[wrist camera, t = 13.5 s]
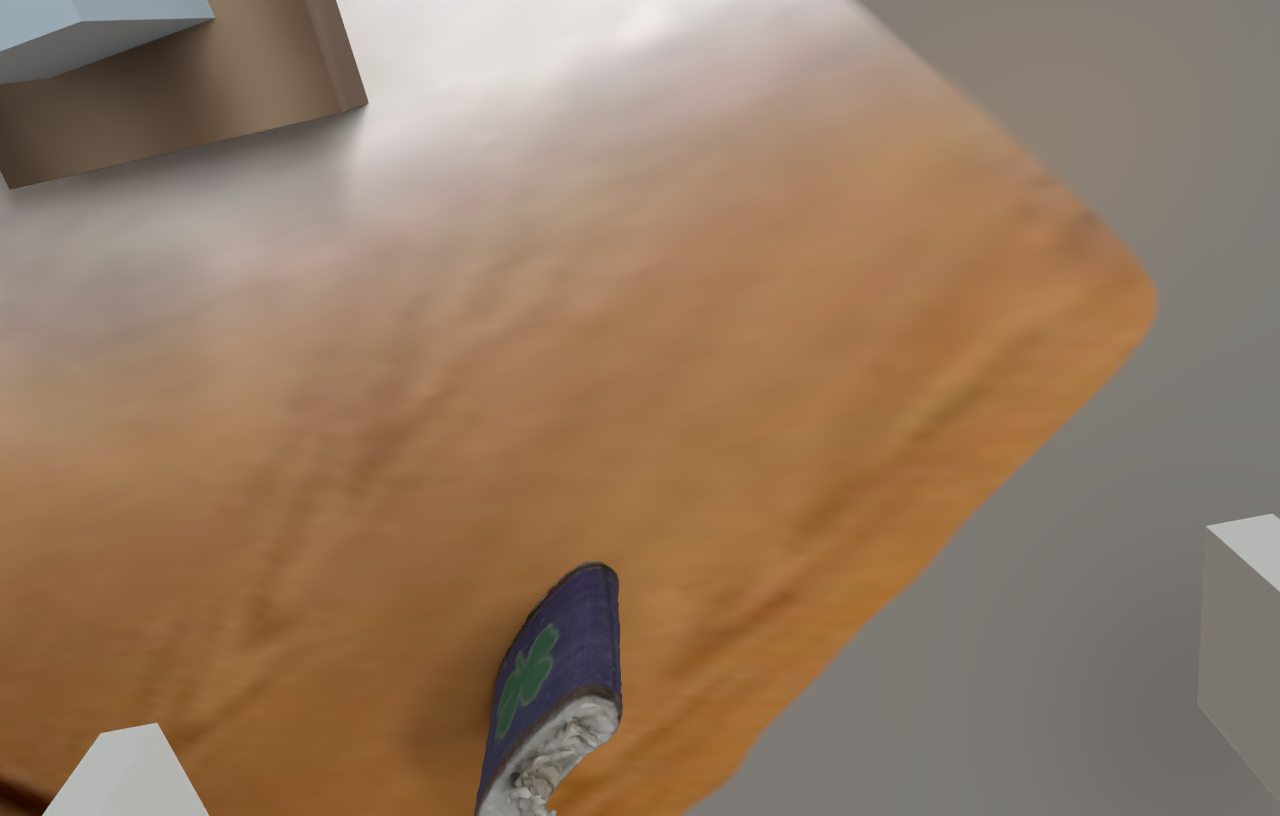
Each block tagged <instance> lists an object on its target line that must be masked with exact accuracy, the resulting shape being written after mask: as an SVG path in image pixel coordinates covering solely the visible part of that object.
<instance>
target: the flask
mask: <svg viewBox="0 0 1280 816" xmlns="http://www.w3.org/2000/svg"><path fill="white" fill-rule="evenodd" d="M618 591H619V579H618V576H617V573H616V572H615V571H614V570H613V569H612V568H611V567H609V566H607V565H605V564H603V563H602V562H600V561H593V560H590V561H588V562H585V563H582V564H579V565H578V566H577V567H576V568H574V569H572V570H571V571H569V572H568V573H567V574H565V575H564V577H562V579H561V580H560V581H559V582H558V583H557V584H556V585H554V586H553V587H552V588H551V589H550V590H549V593H547V595H545V596H543V597H542V600H540V601H539V602H538V603H537V606H536V607H535V609H534V610H532V612H531V613H530V614H529V616H528V619H527V621H526V623H525V624H524V626H522V628H521V630H520V632H519V634H518V635H517V636H516V639H514V643H513V644H512V646H511V647H510V648H509V649H508V652H507V654H506V657H505V658H504V659H503V662H502V663H501V664H502V666H501V667H500V671H499V673H498V676H497V679H496V684H495V697H494V702H493V707H492V712H491V719H490V728H489V733H488V739H487V742H486V751H485V756H484V761H483V766H482V774H481V780H480V786H479V790H478V793H477V800H476V806H475V810H474V816H556V814H557V813H556V811H555V810H552V811H549V810H547V808H546V806H545V804H546V803H547V802H548V801H547V800H548V798H549V796H550V795H551V794H552V793H553V791H554V789H555V788H556V787H557V786H558V785H559V783H560V782H561V781H562V780H563V779H564V778H565V777H566V776H567V775H568V773H569V772H570V770H571V769H572V768H573V767H574V766H575V765H577V764H578V763H579V762H580V761H581V760H582V759H583V758H584V757H585V756H586V755H587V754H588V753H590V752H592V751H594V750H595V749H596V748H597V747H598V746H601V745H603V744H605V743H606V742H607V741H608V740H609V739H610V738H611V737H612V735H613V734H614V733H615V732H616V731H617V729H618V726H619V724H620V720H621V716H622V708H623V705H622V694H621V685H622V684H621V670H620V648H619V644H620V623H619V613H618V607H619V604H618Z"/></svg>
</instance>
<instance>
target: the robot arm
mask: <svg viewBox="0 0 1280 816" xmlns="http://www.w3.org/2000/svg"><path fill="white" fill-rule="evenodd" d="M1202 597H1203V598H1202V617H1201V638H1200V660H1199V679H1198V701H1197V704H1198V706H1199V707H1200V708H1201V709H1202V710H1203V712H1204V713H1205V714H1206V715H1207V716H1208V717H1209V719H1210V720H1211V721H1212V723H1213V724H1214V725H1215V726H1216V727H1217V728H1218V730H1219V731H1220V732H1221V733H1222V735H1223V736H1224V737H1225V738H1226V739H1227V741H1228V742H1229V743H1230V744H1231V745H1232V747H1233V748H1234V749H1235V750H1236V752H1237V753H1238V754H1239V755H1240V756H1241V758H1242V759H1243V760H1244V761H1245V762H1246V764H1247V765H1248V766H1249V767H1250V768H1251V770H1252V771H1253V772H1254V773H1255V775H1256V776H1257V777H1258V778H1259V779H1260V780H1261V782H1262V783H1263V784H1264V785H1265V787H1266V788H1267V789H1268V790H1269V791H1270V793H1271V794H1272V795H1273V796H1274V797H1275V798H1276V800H1277V801H1278V802H1279V803H1280V519H1278V518H1277V517H1276V516H1274V515H1273V514H1268V515H1263V516H1258V517H1253V518H1247V519H1242V520H1236V521H1231V522H1225V523H1221V524H1215V525H1209V526H1206V534H1205V554H1204V575H1203V596H1202ZM42 816H209V815H208V813H207V811H206V809H205V808H204V806H203V804H202V802H201V800H200V799H199V797H198V795H197V793H196V791H195V790H194V788H193V786H192V784H191V783H190V781H189V779H188V777H187V775H186V774H185V772H184V770H183V768H182V766H181V765H180V763H179V761H178V759H177V758H176V756H175V754H174V752H173V750H172V749H171V747H170V745H169V743H168V741H167V740H166V738H165V736H164V734H163V733H162V731H161V729H160V727H159V725H158V724H157V723H153V724H148V725H143V726H137V727H132V728H127V729H121V730H116V731H111V732H105V733H101V734H100V735H99V736H98V738H97V739H96V741H95V742H94V743H93V745H92V746H91V748H90V749H89V750H88V752H87V753H86V755H85V756H84V757H83V759H82V760H81V762H80V763H79V765H78V766H77V767H76V769H75V770H74V772H73V773H72V774H71V776H70V777H69V779H68V780H67V781H66V783H65V784H64V786H63V787H62V788H61V790H60V791H59V793H58V794H57V795H56V797H55V798H54V800H53V801H52V802H51V804H50V805H49V807H48V808H47V809H46V811H45V812H44V814H43V815H42Z"/></svg>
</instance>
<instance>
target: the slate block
mask: <svg viewBox="0 0 1280 816" xmlns="http://www.w3.org/2000/svg"><path fill="white" fill-rule="evenodd" d="M213 18H215V16H214V14H213V12H212V10H211V7H210V5H209V3H208V1H207V0H0V84H5V83H13V82H21V81H29V80H38V79H46V78H52V77H55V76H57V75H60V74H63V73H65V72H68V71H71V70H74V69H76V68H79V67H82V66H85V65H87V64H90V63H93V62H96V61H98V60H101V59H104V58H107V57H109V56H112V55H115V54H118V53H120V52H123V51H126V50H128V49H131V48H134V47H137V46H139V45H142V44H145V43H148V42H150V41H153V40H156V39H159V38H161V37H164V36H167V35H170V34H172V33H175V32H178V31H181V30H183V29H186V28H189V27H192V26H194V25H197V24H200V23H202V22H205V21H208V20H211V19H213Z"/></svg>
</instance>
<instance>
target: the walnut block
mask: <svg viewBox="0 0 1280 816" xmlns="http://www.w3.org/2000/svg"><path fill="white" fill-rule="evenodd" d="M207 1H208V3H209V5H210V7H211V10H212V12H213V14H214V16H215V18H213V19H211V20H208V21H205V22H202V23H200V24H197V25H194V26H192V27H189V28H186V29H183V30H181V31H178V32H175V33H172V34H170V35H167V36H164V37H161V38H159V39H156V40H153V41H150V42H148V43H145V44H142V45H139V46H137V47H134V48H131V49H128V50H126V51H123V52H120V53H118V54H115V55H112V56H109V57H107V58H104V59H101V60H98V61H96V62H93V63H90V64H87V65H85V66H82V67H79V68H76V69H74V70H71V71H68V72H65V73H63V74H60V75H57V76H55V77H52V78H46V79H38V80H29V81H21V82H13V83H5V84H0V171H1V173H2V175H3V177H4V179H5V181H6V183H7V185H8V187H9V189H15V188H19V187H23V186H28V185H32V184H36V183H40V182H45V181H49V180H53V179H58V178H62V177H66V176H71V175H75V174H79V173H84V172H88V171H92V170H97V169H101V168H105V167H110V166H114V165H118V164H123V163H127V162H131V161H136V160H140V159H144V158H149V157H153V156H157V155H162V154H166V153H170V152H175V151H179V150H183V149H188V148H192V147H196V146H201V145H205V144H209V143H214V142H218V141H222V140H227V139H231V138H235V137H240V136H244V135H248V134H253V133H257V132H261V131H265V130H270V129H274V128H278V127H283V126H287V125H291V124H296V123H300V122H304V121H309V120H313V119H317V118H322V117H326V116H330V115H335V114H339V113H343V112H346V111H348V110H351V109H354V108H356V107H359V106H362V105H364V104H367V103H369V102H368V99H367V96H366V93H365V90H364V87H363V83H362V80H361V77H360V74H359V71H358V68H357V65H356V62H355V58H354V55H353V52H352V49H351V46H350V43H349V40H348V37H347V33H346V30H345V27H344V24H343V21H342V18H341V15H340V12H339V8H338V5H337V2H336V0H207Z"/></svg>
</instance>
